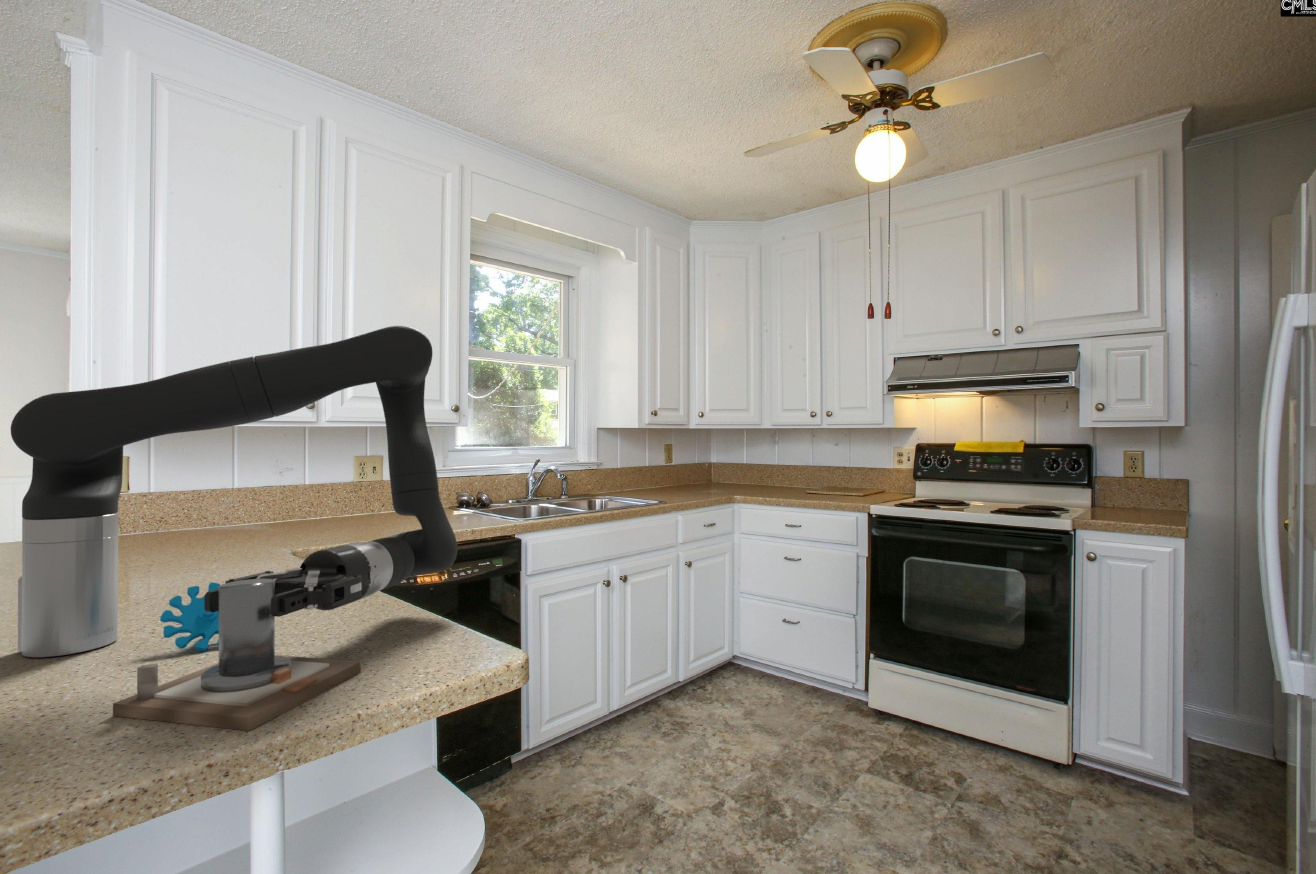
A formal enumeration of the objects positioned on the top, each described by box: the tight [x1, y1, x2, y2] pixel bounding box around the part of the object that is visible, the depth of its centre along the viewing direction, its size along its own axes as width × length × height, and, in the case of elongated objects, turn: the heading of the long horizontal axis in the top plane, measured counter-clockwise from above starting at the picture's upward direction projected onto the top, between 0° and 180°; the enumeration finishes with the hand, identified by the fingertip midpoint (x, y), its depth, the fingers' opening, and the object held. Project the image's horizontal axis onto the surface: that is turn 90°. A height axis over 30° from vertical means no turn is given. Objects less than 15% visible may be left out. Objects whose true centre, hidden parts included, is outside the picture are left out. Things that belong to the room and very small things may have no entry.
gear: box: [159, 581, 221, 652], centre depth 84 cm, size 11×6×10 cm
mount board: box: [112, 654, 362, 732], centre depth 66 cm, size 16×15×4 cm
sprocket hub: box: [201, 579, 291, 693], centre depth 66 cm, size 9×8×10 cm
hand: (240, 605), depth 66 cm, fingers open, 8 cm apart
